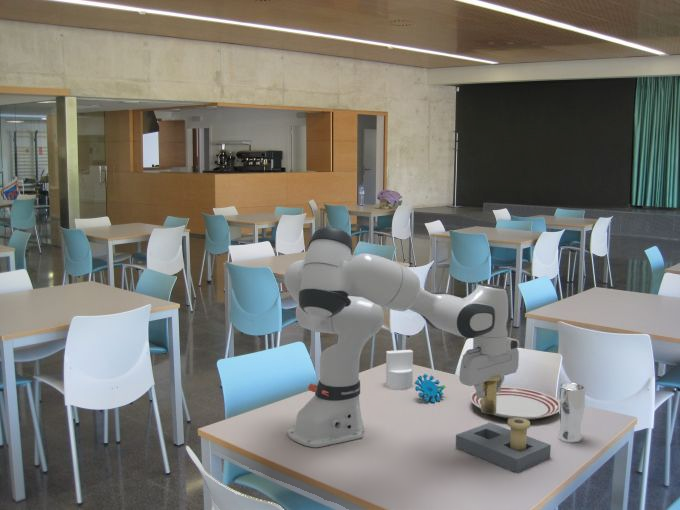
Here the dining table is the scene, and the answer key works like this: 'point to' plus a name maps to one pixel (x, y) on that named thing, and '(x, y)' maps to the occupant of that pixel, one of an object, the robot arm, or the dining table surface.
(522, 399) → the dinner plate
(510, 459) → the jig
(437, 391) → the gear
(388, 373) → the white toy chair
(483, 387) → the bushing
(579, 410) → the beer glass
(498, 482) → the dining table surface
